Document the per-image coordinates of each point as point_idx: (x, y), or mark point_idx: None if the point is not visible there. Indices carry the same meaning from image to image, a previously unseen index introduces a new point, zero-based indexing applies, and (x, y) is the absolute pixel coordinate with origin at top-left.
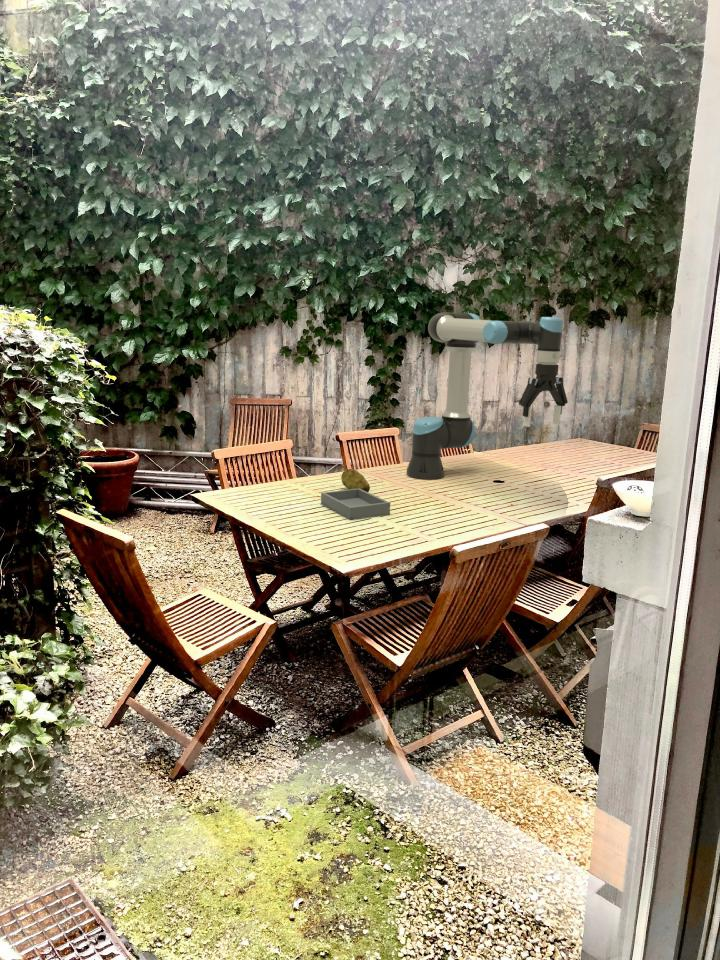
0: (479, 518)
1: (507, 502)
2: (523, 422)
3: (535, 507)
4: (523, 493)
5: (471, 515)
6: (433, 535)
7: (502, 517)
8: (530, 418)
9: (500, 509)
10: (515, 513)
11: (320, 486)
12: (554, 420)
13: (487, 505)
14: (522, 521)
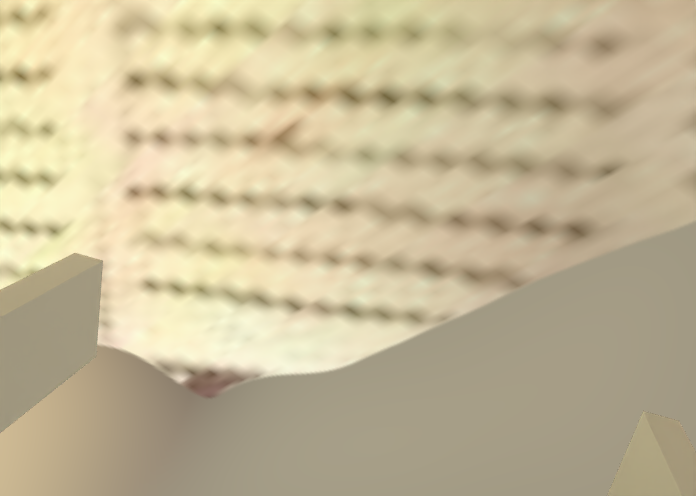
0: (6, 183)
1: (305, 89)
2: (45, 272)
3: (351, 233)
4: (555, 12)
5: (3, 133)
6: None
7: (98, 233)
8: (13, 416)
9: (178, 151)
10: (190, 232)
11: None
12: (641, 478)
13: (174, 65)
14: (130, 315)
